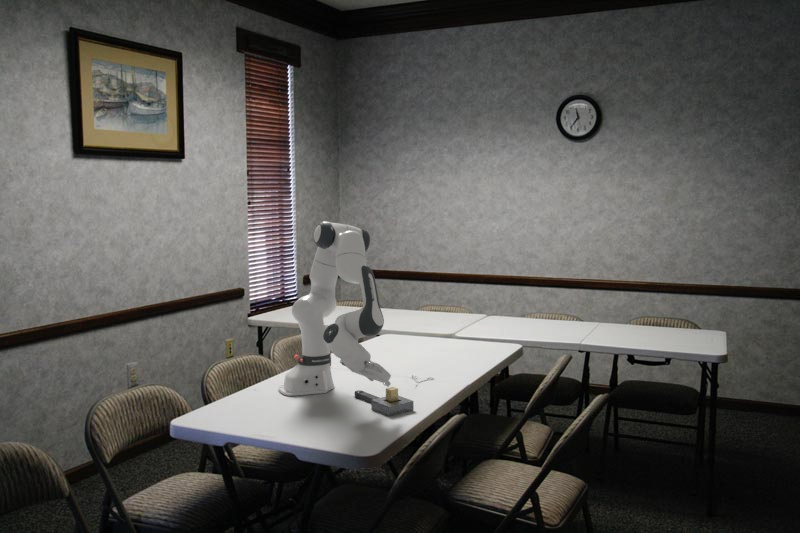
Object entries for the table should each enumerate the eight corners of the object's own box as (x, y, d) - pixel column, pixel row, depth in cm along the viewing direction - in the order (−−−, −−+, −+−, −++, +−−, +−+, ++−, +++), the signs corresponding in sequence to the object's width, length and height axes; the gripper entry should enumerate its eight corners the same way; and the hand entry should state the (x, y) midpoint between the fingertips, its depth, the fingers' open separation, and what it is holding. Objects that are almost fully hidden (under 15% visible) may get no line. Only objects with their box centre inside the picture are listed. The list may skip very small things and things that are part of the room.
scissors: (435, 376, 298) (422, 388, 279) (435, 378, 298) (422, 390, 279) (412, 375, 302) (397, 387, 283) (412, 376, 302) (397, 388, 283)
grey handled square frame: (389, 416, 246) (389, 406, 246) (344, 398, 269) (344, 389, 269) (413, 410, 253) (413, 400, 252) (368, 393, 276) (368, 384, 275)
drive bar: (391, 411, 252) (391, 390, 251) (386, 409, 254) (385, 388, 253) (398, 410, 254) (398, 388, 253) (393, 407, 256) (392, 386, 255)
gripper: (380, 357, 236) (403, 381, 243) (347, 347, 252) (369, 369, 259) (369, 372, 233) (393, 395, 240) (336, 361, 250) (359, 383, 257)
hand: (380, 382), depth 250 cm, fingers open, 8 cm apart
